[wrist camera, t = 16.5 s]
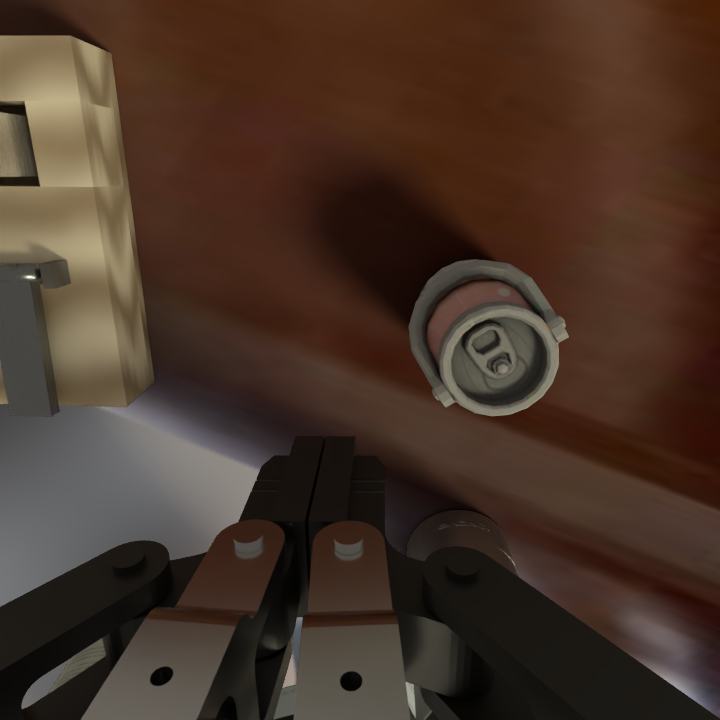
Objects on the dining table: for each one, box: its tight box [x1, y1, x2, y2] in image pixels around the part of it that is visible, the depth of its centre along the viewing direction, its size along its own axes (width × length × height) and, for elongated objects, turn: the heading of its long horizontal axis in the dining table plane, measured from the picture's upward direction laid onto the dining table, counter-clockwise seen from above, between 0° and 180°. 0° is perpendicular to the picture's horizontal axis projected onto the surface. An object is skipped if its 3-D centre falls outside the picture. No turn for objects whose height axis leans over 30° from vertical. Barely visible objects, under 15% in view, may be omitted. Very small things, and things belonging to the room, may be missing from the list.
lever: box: [0, 263, 60, 417], centre depth 37 cm, size 11×4×1 cm, turn 0°
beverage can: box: [408, 259, 569, 416], centre depth 35 cm, size 9×8×12 cm
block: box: [0, 36, 155, 407], centre depth 37 cm, size 24×12×7 cm, turn 0°
